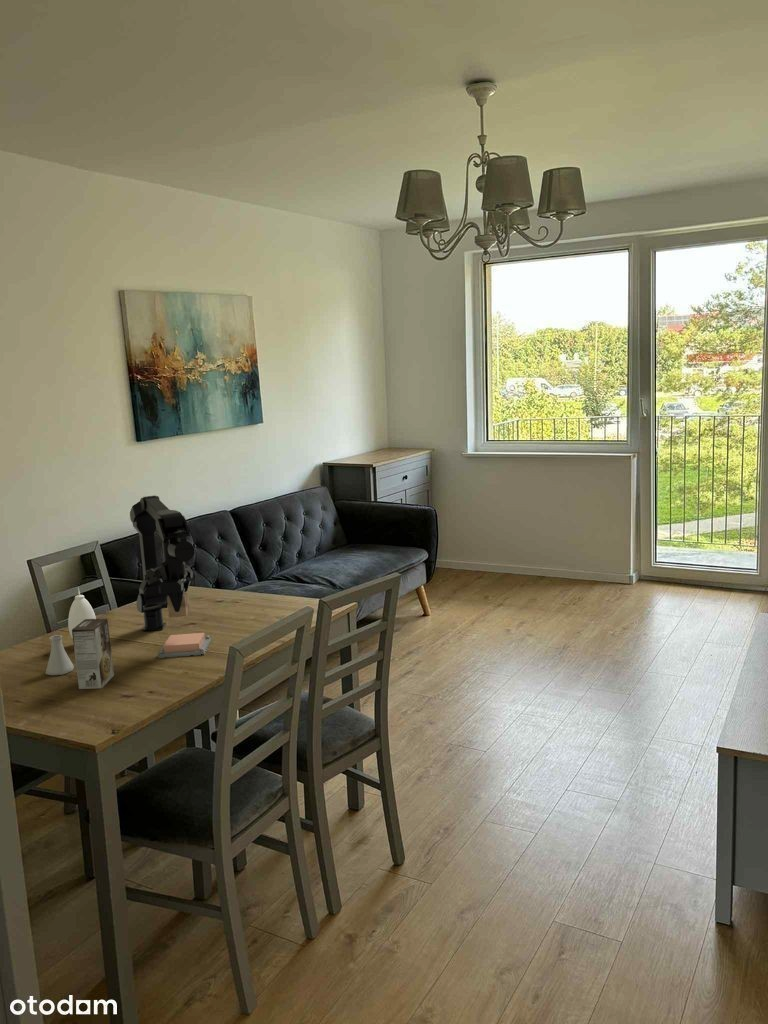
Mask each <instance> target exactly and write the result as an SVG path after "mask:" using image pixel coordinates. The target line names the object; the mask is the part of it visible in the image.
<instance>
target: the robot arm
mask: <svg viewBox="0 0 768 1024" xmlns="http://www.w3.org/2000/svg"><path fill="white" fill-rule="evenodd" d="M129 519H130V522H131V523H132V526H133V528H134V529H135V530H136V532H137V533H138V535H139V546H140V556H141V564H142V565H141V566H142V575H143V576H142V577H143V579H142V582H141V583H140V585H139V588H138V590H139V591H138V592H139V593H138V594H137V595H138V596H137V599H136V604H135V605H136V610H137V611H138V612H140V613H141V614H142V613H143V619H144V620H143V621H144V626H143V627H142V629H141V631H142V632H147V631H161V630H164V629H165V626H167V622H164V617H163V609H168V603H167V596H169V598H170V600H171V602H172V605H173V607H174V610H175V612H179V610H180V607H181V603H182V599H183V595H184V592H189V587H190V584H191V579H193V578H194V577H193V576H194V575H193V570H192V569H191V568H189V567H186V563H187V562H189V561H191V560H192V559H193V558H194V556H195V553H196V551H195V546H194V545H193V544H192V543H191V542H189V541H188V540H187V539H188V538H189V537H190V536H191V529H190V526H189V524H188V521H187V519H186V517H185V515H183V514H182V512H181V511H178V510H177V509H176V510H175V509H169V508H168V507H167V506H166V504H164V503H163V502H162V501H161V499H160V497H159V496H158V495H156V494H155V495H148V496H143V497H141V498H140V500H139V501H137V503H135V504H134V505H132V506H131V509H130V512H129ZM156 531H157V532H158V534H159V537H160V539H161V540H162V541H161V544H162V555H163V561H162V562H161V565H159V566H158V558H157V557H158V556H157V548H156V547H157V546H156V536H155V534H156ZM187 537H188V538H187ZM186 578H189V579H188V580H186ZM161 580H162V581H161Z"/></svg>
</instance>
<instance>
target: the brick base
mask: <svg viewBox="0 0 768 1024" xmlns="http://www.w3.org/2000/svg"><path fill="white" fill-rule="evenodd" d="M210 641H211V642H212V638H211V637H210V635H205V632H198V633H197V632H196V633H195V632H193V633H182V634H170V635H169V637H168V638H166V641H165V642H164V644H163V645H162V648H161V649H160V651H158V653H157V658H158V659H163V658H164V659H165V657H166V658H177V657H178V656H179V658H180V657H191V656H190V655H194V656H202V655H201V654H205V655H206V652H207V650H208V648H209V646H210V644H209V643H211V642H210ZM208 645H209V646H208ZM207 647H208V648H207ZM206 649H207V650H206ZM205 651H206V652H205Z"/></svg>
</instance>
